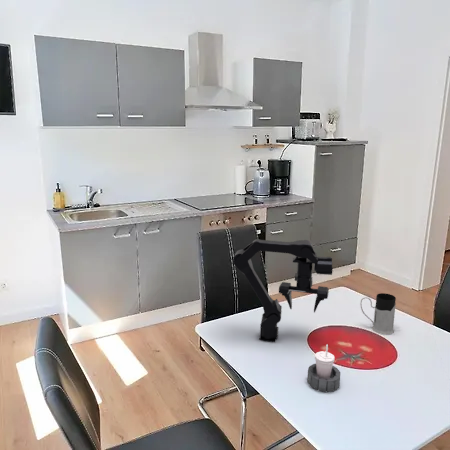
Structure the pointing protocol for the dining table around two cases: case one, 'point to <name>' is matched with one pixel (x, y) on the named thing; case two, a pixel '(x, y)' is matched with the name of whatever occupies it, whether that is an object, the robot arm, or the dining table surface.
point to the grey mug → (383, 313)
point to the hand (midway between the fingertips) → (302, 310)
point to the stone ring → (323, 380)
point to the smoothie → (324, 363)
